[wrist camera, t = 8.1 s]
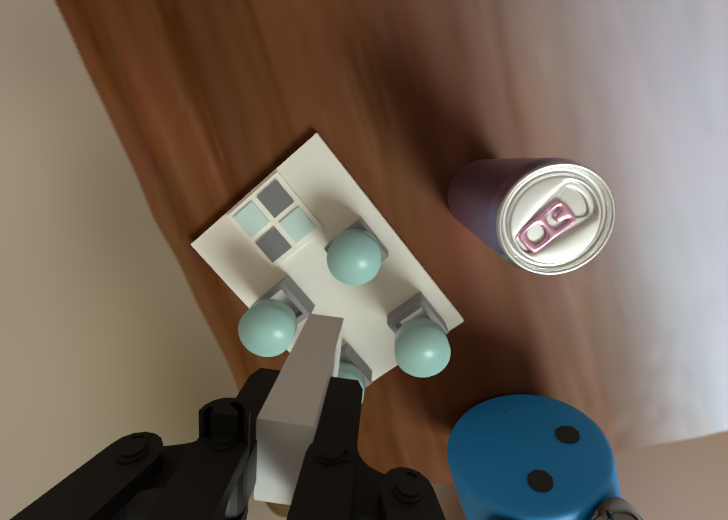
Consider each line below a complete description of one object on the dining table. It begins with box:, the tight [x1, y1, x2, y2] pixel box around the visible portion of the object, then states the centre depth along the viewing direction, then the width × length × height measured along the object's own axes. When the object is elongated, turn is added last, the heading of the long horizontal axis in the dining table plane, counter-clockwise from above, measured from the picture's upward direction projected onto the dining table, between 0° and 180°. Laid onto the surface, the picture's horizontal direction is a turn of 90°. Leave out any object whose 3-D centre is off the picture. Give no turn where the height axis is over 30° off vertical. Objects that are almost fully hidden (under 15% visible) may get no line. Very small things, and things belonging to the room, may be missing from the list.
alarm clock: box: [447, 394, 643, 520], centre depth 31 cm, size 13×6×15 cm, turn 108°
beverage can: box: [447, 158, 616, 275], centre depth 25 cm, size 6×6×15 cm
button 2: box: [238, 299, 297, 357], centre depth 31 cm, size 4×4×4 cm
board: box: [191, 133, 464, 388], centre depth 33 cm, size 16×22×3 cm
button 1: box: [327, 229, 381, 286], centre depth 31 cm, size 4×4×4 cm
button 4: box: [337, 362, 365, 401], centre depth 34 cm, size 4×4×4 cm
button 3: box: [394, 318, 451, 377], centre depth 30 cm, size 4×4×4 cm
